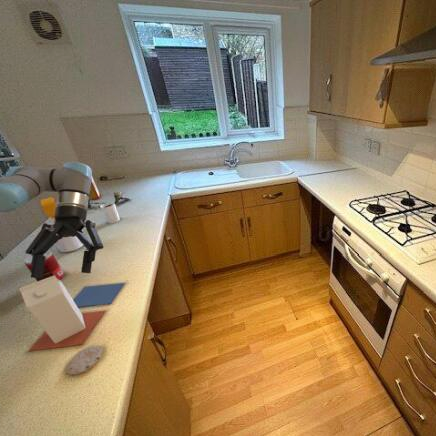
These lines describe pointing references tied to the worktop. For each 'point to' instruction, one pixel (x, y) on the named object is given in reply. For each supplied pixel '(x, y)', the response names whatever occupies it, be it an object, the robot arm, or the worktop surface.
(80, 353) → the flatbread
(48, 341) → the terracotta mat
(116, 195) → the artificial flower
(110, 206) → the white cup
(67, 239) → the soap bottle
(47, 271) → the canned food
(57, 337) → the milk carton
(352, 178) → the worktop surface
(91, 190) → the baking soda box
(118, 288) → the slate-blue mat
